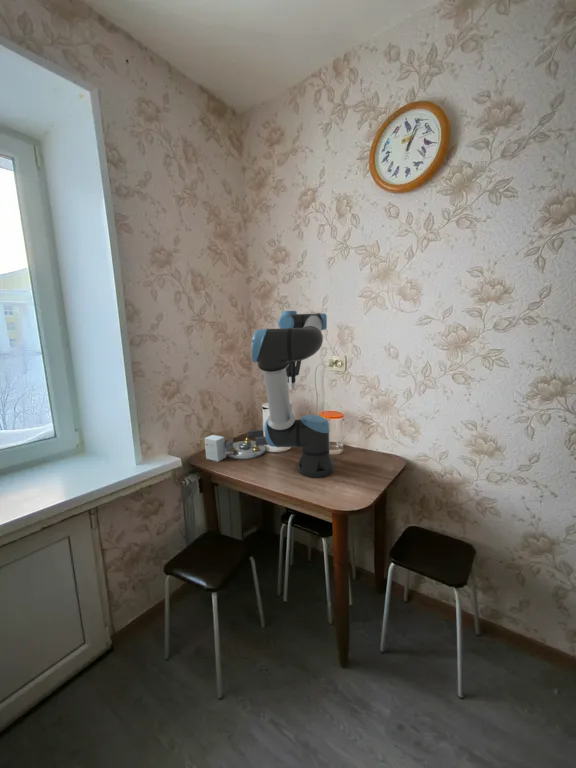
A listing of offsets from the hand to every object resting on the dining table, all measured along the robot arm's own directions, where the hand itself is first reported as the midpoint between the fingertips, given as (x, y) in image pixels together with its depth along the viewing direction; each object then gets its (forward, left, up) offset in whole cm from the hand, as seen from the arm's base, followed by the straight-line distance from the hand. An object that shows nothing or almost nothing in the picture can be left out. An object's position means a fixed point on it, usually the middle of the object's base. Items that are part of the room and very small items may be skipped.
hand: (291, 389), depth 169 cm
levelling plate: (+16, +20, -29) cm, 39 cm away
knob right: (+17, +12, -27) cm, 34 cm away
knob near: (+7, +18, -27) cm, 33 cm away
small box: (+23, +33, -30) cm, 50 cm away
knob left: (+18, +29, -27) cm, 43 cm away
